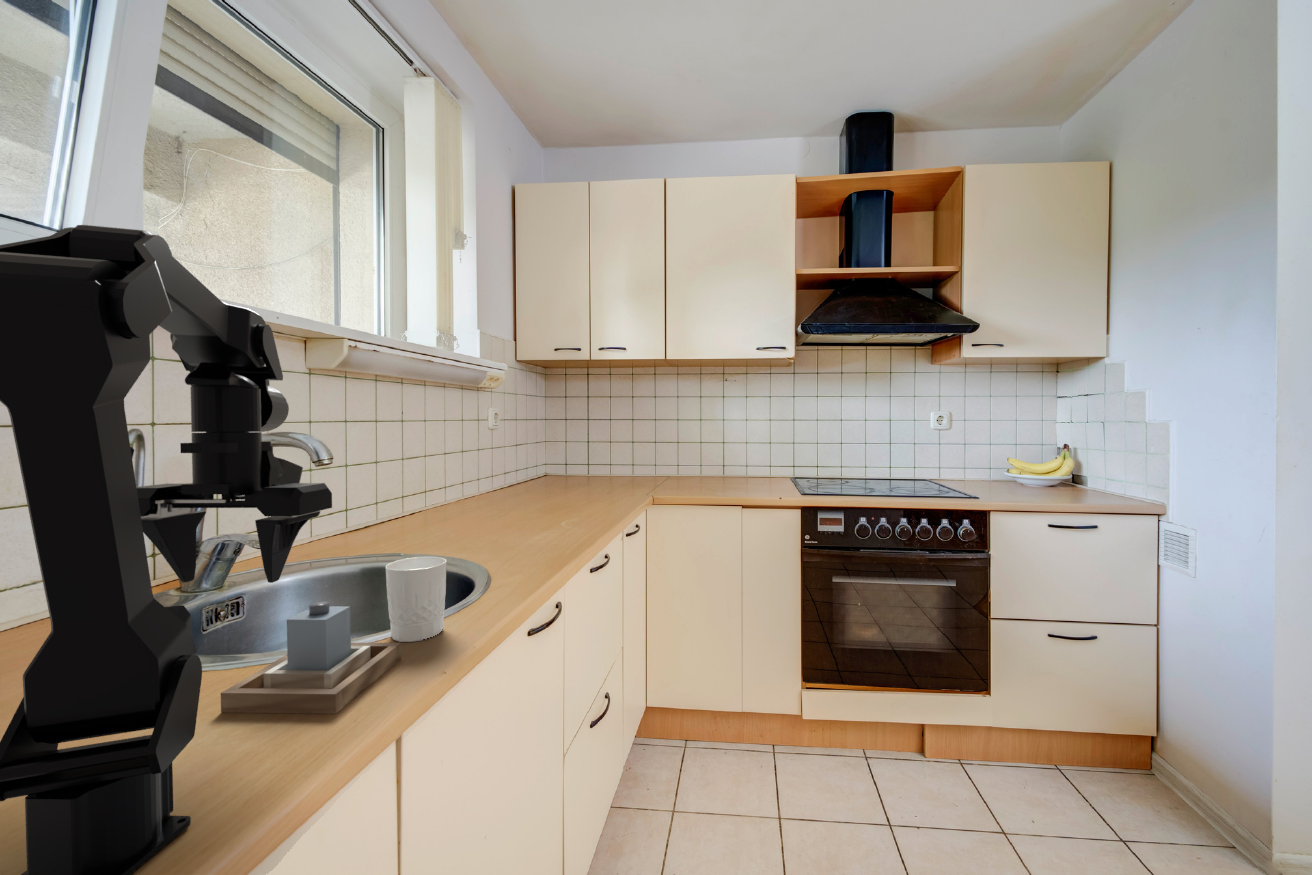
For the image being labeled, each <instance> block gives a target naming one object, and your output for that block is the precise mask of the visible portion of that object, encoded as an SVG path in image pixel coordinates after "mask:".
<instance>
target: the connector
mask: <svg viewBox="0 0 1312 875" xmlns="http://www.w3.org/2000/svg"><path fill="white" fill-rule="evenodd" d="M351 639H352V638H351V606H341V605H340V606H338V605H337V606H336V605H335V606H331V605H330V601H317V602H314V603H311V604H309V606H308V608H307V609H306V610H303V611H301V612H299V613H298V614H295V615H293V616H290V617H289V618H287V619H286V642H287V643H286V647H287V648H286V649H287V651H286V652H287V653H286V655H287V659H288V670H312V671H329V670H330V669H332V668H333V667H335V666H336V665H337V664H339V663H340V662H342V661H343V660H345V659H346V658H347V657H349V656H350V655H351V643H352V640H351Z"/></svg>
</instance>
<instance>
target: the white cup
mask: <svg viewBox="0 0 1312 875" xmlns="http://www.w3.org/2000/svg"><path fill="white" fill-rule="evenodd" d="M447 563H448V562H447V558H445V557H440V556H414V557H407V558H401V559H398V560H395V561H391V562H389V563H387V564H386V565H385V580H386V581H385V582H386V596H387V597H386V598H387V608H388V618H389V620H390V622H389V624H390V636H391V639H392V640H393V641H397V642H398V643H403V642H404V643H412V642H413V643H414V642H420V641H424V640H423V639H425V640H428V639H427V638H429V639H431V638H430V637H432V638H434V637H435V636H434V635H436V636H438V635H439V634H438V633H440V632H441V631H443V630H444V621H445V619H444V618H445V615H444V613H445V607H446V602H445V600H446V592H447V591H446V590H447V589H446V588H447ZM442 629H443V630H442ZM441 633H442V632H441ZM441 633H440V634H441ZM437 634H438V635H437ZM433 636H434V637H433Z"/></svg>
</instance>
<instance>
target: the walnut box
mask: <svg viewBox="0 0 1312 875" xmlns="http://www.w3.org/2000/svg"><path fill="white" fill-rule="evenodd" d="M401 660H402V642H351V655H350V656H349V657H347V658H346V659H345V660H343V661H342V662H340V663H339V664H337V665H336V666H335V667H333V668H332V669H330V670H329V671H312V670H288V659H287V654H285V655H283V656H282V657H280V658H278V659H276V660H275V661H273V662H271V663H270V664H268V665H266V666H264V667H263V668H261V669H260V670H258V671H255V672H254V673H253V674H251V675H249V676H248V677H246V678H244V679H242V680H241V681H239V682H236V683H235V684H234V685H232V686H230V687H229V688H227V689H225V690H223V691H221V692H220V713H234V714H235V713H238V714H239V713H241V714H244V713H247V714H248V713H249V714H329V715H331V714H332V715H333V714H334V715H336V714H337V713H338V712H340V711H341V710H342V709H343V708H345V707H346V706H347V705H348V704H349V703H350V702H352V701H353V700H354V699H355V698H356V697H357V696H359V695H360V694H361V693H362V692H363V691H365V690H366V689H367V688H369V687H370V686H371V685H372V684H374V682H376V680H378V679H379V678H380V677H381V676H383V675H384V674H385V673H386V672H387V671H389V670H390V669H391V668H392V667H393V666H395V664H397V663H398V662H399V661H401Z"/></svg>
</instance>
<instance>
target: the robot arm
mask: <svg viewBox="0 0 1312 875" xmlns="http://www.w3.org/2000/svg"><path fill="white" fill-rule="evenodd" d="M158 327H160V328H162V329H164V330H165V331H167V332H168V333H170V334H169V335H170V336H169V338H170V341H171V349H172V350H173V351H174V352H175V353H176V354H177V356H178V357H179V360H180V361H181V364H182V365H183V367H184V369H185V371H186V372H188V374H187V375H186V376H185V378H184V383H185V384H186V385H188V386H190V420H191V421H190V424H191V442H180V443H179V444H180V454H191V465H192V466H191V468H192V471H191V472H192V473H191V474H192V476H191V477H192V483H190V482H189V483H161V484H153V485H144V486H142V485H141V486H137V482H136V477H135V470H134V462H133V456H132V450H131V449H132V448H131V444H130V442H131V441H130V436H129V430H128V422H127V417H126V416H127V414H126V410H125V398H126V397H127V396H128V394H129V393H130V390H131V389H132V388H133V387H134V385H135V383H136V382H137V380H138V379H139V378H140V377H141V375H142V373H143V372H144V370H145V369H146V368H147V366H148V364H149V363H150V361H151V338H150V336H151V334H152V333H153V332H154V331H155V330H156V328H158ZM283 379H284V374H283V370H282V365H281V362H280V358H279V353H278V350H277V346H276V341H275V337H274V333H273V330H272V327H271V326H270V325H269V324H266V322H265V319H264V318H263V317H262V316H261V315H260V314H259V313H257V312H256V311H254V310H251V309H250V308H248V307H244V306H239V305H236V304H231V303H226V302H224V301H222V300H221V299H220V298H219V297H218V296H216V295H215V294H214V293H213V292H212V291H211V290H210V289H209V288H208V287H206V285H204V284H203V283H202V282H201V281H200V280H199V279H198V278H197V277H196V276H195V275H193V274H192V273H191V272H190V271H189V269H188V268H186V267H185V266H184V265H183V264H182V263H181V262H179V261H178V260H177V259H176V257H174V256H173V254H172V249H170V246H169V244H168V242H167V241H166V240H165V238H164V237H162V236H160V235H158V234H153V233H151V232H149V231H148V230H144V229H132V228H122V227H121V228H120V227H110V226H103V225H102V226H101V225H88V224H76V226H73V227H63V229H60V230H59V231H57V232H55V233H53V234H51V235H48V236H42V237H38V238H32V239H26V240H20V241H15V242H10V243H4V244H3V243H2V244H0V403H1V404H2V405H4V407H6V409H7V411H8V415H9V418H10V423H11V428H12V432H13V437H14V444H15V448H16V454H17V458H18V463H19V468H20V473H21V479H22V482H23V488H24V494H25V497H26V498H25V499H26V504H27V509H28V513H29V519H30V524H31V528H32V534H33V540H34V544H35V549H36V553H37V554H36V555H37V559H38V564H39V568H40V569H39V570H40V573H41V579H42V584H43V585H42V586H43V589H44V590H43V591H44V594H45V599H46V603H47V604H46V605H47V609H48V610H47V611H48V614H49V619H50V633H48V636H47V637H46V639H45V640H44V642H43V643H42V645H41V646H40V648H39V650H38V651H37V653H36V654H35V656H33V658H32V659H31V660H32V661H31V662H30V663H29V665H27V667H26V669H25V671H24V672H23V674H22V686H23V687H22V689H23V690H22V692H23V696H22V699H21V700H20V702H19V705H18V707H17V708H16V710H15V712H14V714H13V715H12V716H13V717H11V720H10V722H9V724H8V726H7V727H6V730H5V732H4V733H3V735H2V738H1V739H0V802H5V801H6V800H8V799H13V798H19V797H24V796H25V798H24V807H25V809H24V810H25V811H24V812H25V815H24V816H25V843H26V844H25V846H26V847H25V848H26V851H25V852H26V871H24V872H22V873H21V874H20V875H129V874H130V875H131V874H133V872H135V871H134V870H137V869H138V868H140V867H141V866H142V865H143V864H144V863H145V862H147V861H148V860H149V859H150V858H152V857H153V856H155V855H156V854H157V853H158V852H159V851H160V850H161V849H163V848H164V847H165V846H166V845H168V844H169V843H170V842H171V841H173V839H175V838H176V837H177V836H178V835H180V834H181V833H182V832H184V831H185V830H186V829H187V828H189V826H190V825H191V824H192V819H191V816H189V815H171V813H172V812H173V811H174V779H173V778H174V777H173V776H174V775H173V773H174V772H173V771H174V770H173V762H174V760H175V759H177V757H178V756H179V754H180V753H181V752H182V751H183V750H184V749H186V747H187V746H188V744H190V742H191V741H192V740H193V739H194V738H195V734H196V726H197V717H198V711H199V709H198V708H199V702H200V696H201V695H200V694H201V687H202V677H203V665H202V661H201V658H200V657H199V656H198V655H197V654H195V653H196V652H197V648H198V647H197V646H196V644H195V642H194V638H193V631H192V630H193V629H192V615H191V613H190V612H189V610H188V609H187V607H185V605H183V604H182V605H172V606H170V605H169V606H164V605H163V604H162V603H161V602H159V601H158V600H157V599H155V596H154V594H153V588H152V582H151V581H152V580H151V576H150V575H151V574H150V569H149V568H150V567H149V562H148V556H147V549H146V548H147V547H146V542H145V541H146V540H145V536H146V537H147V538H148V539H149V541H150V542H151V543H152V544H153V545H154V547H155V548H156V549H157V550H158V551H159V553H160V554H161V555H162V557H163V558H164V560H165V561H166V562H167V564H168V565H169V566H170V568H171V569H172V570H173V571H174V573H175V575H176V577H177V578H178V579H179V580H180V582H181V583H189V582H192V581H194V580H195V576H196V569H197V529H198V528H199V527H198V526H199V525H200V524H201V521H202V520H203V518H204V517H205V515H206V514H207V511H206V510H191V509H257V511H259V512H260V513H261V514H262V515H263V516H264V518H259V519H255V522H254V523H255V528H256V533H257V538H258V543H259V549H260V555H261V559H262V565H263V566H262V567H263V571H264V574H265V577H266V581H267V582H268V583H272V584H273V583H276V582H278V581H279V580H280V578H281V576H282V573H283V570H284V568H285V565H286V562H287V560H288V557H289V555H290V552H291V550H292V548H293V545H294V542H295V540H296V539H297V536H298V534H299V532H300V530H302V528H303V527H304V525H305V524H306V523H308V521H309V520H310V519H314V518H318V517H319V516H320V514H321V511H323V510H328V509H332V508H333V493H332V491H331V489H329V487H328V486H327V484H326V482H301V478H302V474H303V470H304V467H303V466H302V465H299V464H297V463H295V462H292V461H289V460H287V459H284V458H279V457H277V456H275V455H274V447H273V444H272V442H271V440H270V441H269V440H268V441H267V440H266V441H263V439H262V437H263V436H262V433H263V432H270V431H273V430H276V429H278V428H279V427H281V425H283V424H284V422H285V421H286V419H287V418H288V415H289V410H290V409H289V408H290V407H289V404H288V403H289V402H288V401H287V399H286V397H285V396H284V395H283V393H282V392H280V391H279V390H278V389H276V388H274V387H272V386H270V381H283ZM214 495H221V498H215V497H214ZM144 730H152V733H151V734H148V735H141V736H137V737H129V738H123V739H115V740H110V741H104V742H98V743H97V742H96V743H91V744H84V745H78V746H73V747H67V748H61V749H60V748H58V747H59V744H61V743H62V744H63V743H69V742H74V741H81V740H86V739H87V740H88V739H94V738H101V737H106V736H113V735H120V734H126V733H133V732H138V731H144ZM136 868H137V869H136Z"/></svg>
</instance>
